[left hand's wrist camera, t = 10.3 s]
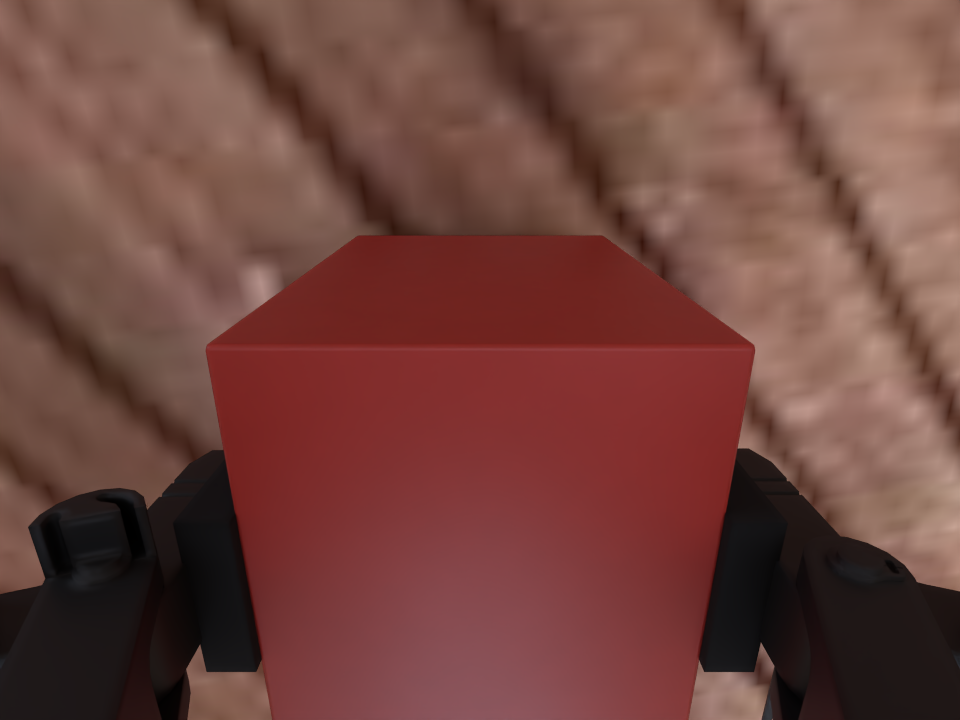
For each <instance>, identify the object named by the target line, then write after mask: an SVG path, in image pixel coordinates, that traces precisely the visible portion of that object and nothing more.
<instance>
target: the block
mask: <svg viewBox="0 0 960 720" xmlns="http://www.w3.org/2000/svg"><path fill="white" fill-rule="evenodd" d="M754 354H755V347H754V345H753V344H752V343H751V342H749V341H748V340H747V339H745V338H744V337H742V336H741V335H740V334H738V333H737V332H735V331H734V330H733V329H731V328H730V327H728V326H727V325H726V324H724V323H723V322H722V321H720V320H719V319H717V318H716V317H715V316H713V315H712V314H710V313H709V312H708V311H706V310H705V309H704V308H702V307H701V306H699V305H698V304H697V303H695V302H694V301H692V300H691V299H690V298H688V297H687V296H686V295H684V294H683V293H681V292H680V291H679V290H677V289H676V288H674V287H673V286H672V285H670V284H669V283H667V282H666V281H665V280H663V279H662V278H661V277H659V276H658V275H656V274H655V273H654V272H652V271H651V270H649V269H648V268H647V267H645V266H644V265H643V264H641V263H640V262H638V261H637V260H636V259H634V258H633V257H631V256H630V255H629V254H627V253H626V252H625V251H623V250H622V249H620V248H619V247H618V246H616V245H615V244H613V243H612V242H611V241H609V240H608V239H606V238H605V237H604V236H357V237H355V238H354V239H353V240H351V241H350V242H348V243H347V244H346V245H344V246H343V247H342V248H340V249H339V250H337V251H336V252H335V253H333V254H332V255H330V256H329V257H328V258H326V259H325V260H324V261H322V262H321V263H319V264H318V265H317V266H315V267H314V268H312V269H311V270H310V271H308V272H307V273H306V274H304V275H303V276H301V277H300V278H299V279H297V280H296V281H295V282H293V283H292V284H290V285H289V286H288V287H286V288H285V289H283V290H282V291H281V292H279V293H278V294H277V295H275V296H274V297H272V298H271V299H270V300H268V301H267V302H265V303H264V304H263V305H261V306H260V307H259V308H257V309H256V310H254V311H253V312H252V313H250V314H249V315H248V316H246V317H245V318H243V319H242V320H241V321H239V322H238V323H236V324H235V325H234V326H232V327H231V328H230V329H228V330H227V331H225V332H224V333H223V334H221V335H220V336H219V337H217V338H216V339H214V340H213V341H212V342H210V343H209V344H207V347H206V355H207V360H208V366H209V372H210V377H211V383H212V388H213V394H214V399H215V405H216V410H217V416H218V421H219V427H220V432H221V438H222V443H223V449H224V455H225V460H226V466H227V471H228V477H229V482H230V488H231V493H232V499H233V504H234V510H235V514H236V520H237V525H238V531H239V536H240V542H241V547H242V553H243V558H244V564H245V569H246V575H247V581H248V586H249V592H250V597H251V603H252V608H253V614H254V619H255V625H256V630H257V636H258V641H259V647H260V653H261V658H262V665H263V670H264V676H265V681H266V687H267V692H268V698H269V703H270V709H271V715H272V720H688V718H689V713H690V707H691V702H692V696H693V691H694V685H695V680H696V674H697V669H698V663H699V656H700V650H701V645H702V639H703V634H704V628H705V623H706V617H707V612H708V606H709V601H710V595H711V590H712V584H713V579H714V573H715V568H716V562H717V557H718V551H719V546H720V540H721V535H722V529H723V523H724V518H725V513H726V509H727V503H728V498H729V492H730V487H731V481H732V476H733V470H734V465H735V459H736V454H737V448H738V443H739V437H740V432H741V426H742V421H743V415H744V410H745V404H746V398H747V393H748V387H749V382H750V376H751V371H752V365H753V360H754Z"/></svg>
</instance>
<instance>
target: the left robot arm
mask: <svg viewBox="0 0 960 720" xmlns="http://www.w3.org/2000/svg"><path fill="white" fill-rule="evenodd" d="M786 479H787V478H786V477H785V476H784V475H783V474H782V473H781V472H780V471H779V470H778V468H777V467H776V466H775V465H774V464H773V463H772V462H771V461H769V460H767V459H765V458H764V457H762V456H760V455H759V454H757V453H755V452H754V451H752V450H750V449H737V454H736V459H735V465H734V470H733V476H732V481H731V487H730V492H729V498H728V503H727V509H726V513H725V518H724V523H723V529H722V535H721V540H720V546H719V551H718V557H717V562H716V568H715V573H714V579H713V584H712V590H711V595H710V601H709V606H708V612H707V617H706V623H705V628H704V634H703V639H702V645H701V650H700V656H699V660H700V663H701V665H702V668H703V670H704V672H754V670H755V665H756V661H757V656H758V652H759V648H760V643H762V645H763V646H764V648H765V650H766V652H767V654H768V655H769V657H770V659H771V661H772V662H773V664H774V666H775V667H774V671H773V675H772V679H771V683H770V687H769V691H768V695H767V700H766V704H765V708H764V712H763V716H762V720H772V719H773V720H960V591H955V590H950V589H945V588H940V587H936V586H931V585H926V584H922V583H918V582H916V580H915V578H914V577H913V575H912V574H911V573H910V571H909V570H908V569H907V568H906V566H905V565H904V564H902V563H901V562H900V561H898V560H897V559H896V558H894V557H893V556H891V555H890V554H889V553H887V552H885V551H883V550H881V549H879V548H877V547H875V546H873V545H870V544H868V543H866V542H862V541H859V540H855V539H852V538H848V537H840V536H839V534H838V533H837V532H836V531H835V530H834V529H833V528H832V527H831V526H830V525H829V524H828V523H827V521H826V520H825V519H824V518H823V517H822V516H821V515H820V514H819V513H818V512H817V511H816V510H815V508H814V507H813V506H812V505H811V504H810V503H809V502H808V501H807V500H806V499H805V498H804V497H803V495H799V491H798V490H797V489H796V488H795V487H794V486H793V485H792V484H791V482H790V481H787V480H786ZM28 528H29V531H30V534H31V537H32V540H33V543H34V546H35V549H36V552H37V555H38V558H39V561H40V564H41V567H42V570H43V573H44V576H45V581H44V583H43V585H41V586H37V587H32V588H28V589H23V590H18V591H13V592H8V593H4V594H0V720H187V717H188V709H189V702H190V694H191V692H190V685H189V679H188V675H187V671H186V668H187V667H188V665H189V663H190V661H191V659H192V658H193V656H194V654H195V652H196V651H197V649H198V647H199V645H201V649H202V654H203V658H204V662H205V667H206V671H207V672H256V671H257V669H258V667H259V664H260V662H261V660H262V658H261V653H260V647H259V641H258V636H257V630H256V625H255V619H254V614H253V608H252V603H251V597H250V592H249V586H248V581H247V575H246V569H245V564H244V558H243V553H242V547H241V542H240V536H239V531H238V525H237V520H236V514H235V510H234V504H233V499H232V493H231V488H230V482H229V477H228V471H227V466H226V460H225V455H224V450H212V451H210V452H209V453H207V454H205V455H204V456H202V457H200V458H199V459H197V460H195V461H194V462H192V463H190V464H189V465H188V466H187V467H186V468H185V469H184V470H183V471H182V473H181V474H180V475H179V476H178V477H177V478H176V479H175V482H174V483H171V485H170V486H169V487H168V488H167V489H166V490H165V491H164V492H163V493H162V497H159V498H158V499H157V500H156V501H155V502H154V503H153V504H152V505H151V506H150V507H149V509H148V510H147V508H146V504H145V500H144V497H143V496H142V495H141V494H139V493H138V492H136V491H135V490H129V489H122V488H115V489H103V490H97V491H93V492H89V493H85V494H81V495H78V496H75V497H73V498H70V499H68V500H66V501H63V502H61V503H58V504H56V505H55V506H53V507H52V508H50V509H48V510H47V511H45V512H44V513H42V514H40V515H39V516H38V517H37V518H36V519H35V520H34V521H33V522H32V523H31V525H30V526H29V527H28Z"/></svg>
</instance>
